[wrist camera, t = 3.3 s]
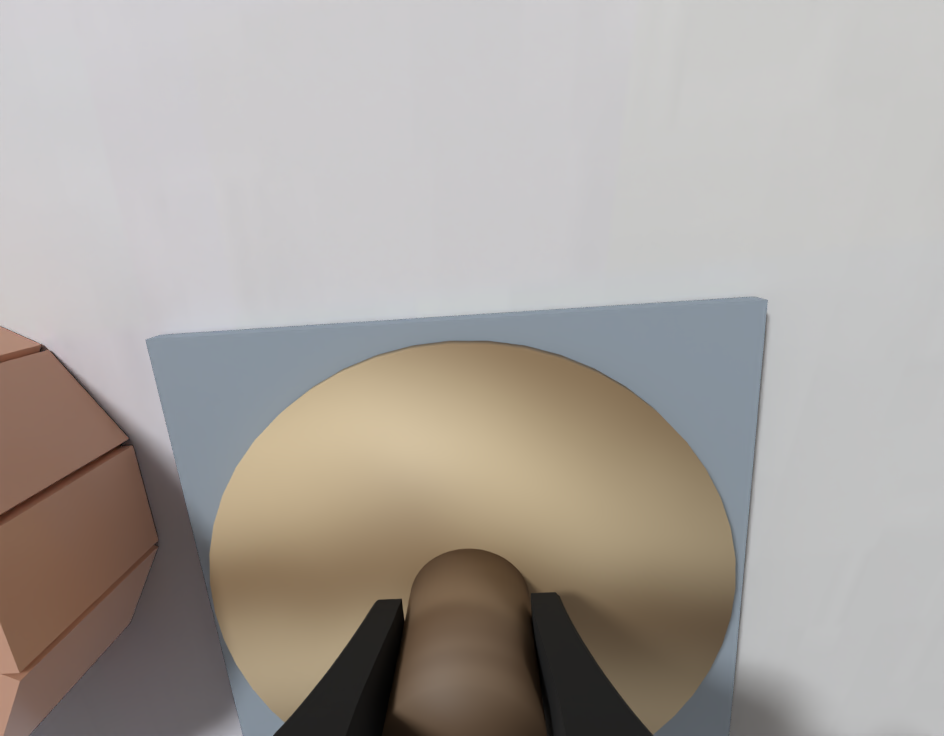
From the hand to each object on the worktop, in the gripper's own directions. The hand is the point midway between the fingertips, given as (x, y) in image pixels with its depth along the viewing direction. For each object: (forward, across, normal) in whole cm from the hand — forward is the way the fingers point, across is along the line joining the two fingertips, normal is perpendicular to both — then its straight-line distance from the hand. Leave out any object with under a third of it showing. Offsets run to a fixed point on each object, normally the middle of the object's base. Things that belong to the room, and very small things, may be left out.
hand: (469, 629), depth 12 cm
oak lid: (+2, 0, 0) cm, 2 cm away
